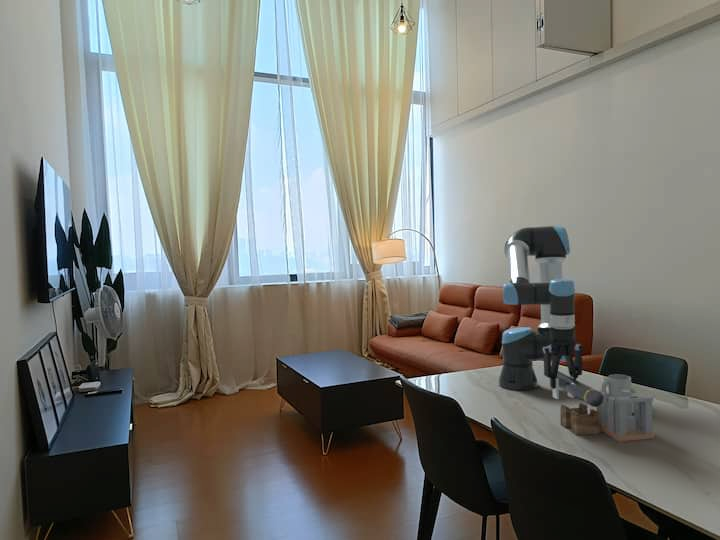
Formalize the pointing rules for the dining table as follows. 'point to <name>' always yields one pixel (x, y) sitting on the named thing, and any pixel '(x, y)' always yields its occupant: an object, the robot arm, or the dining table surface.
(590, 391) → the tube
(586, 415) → the rack
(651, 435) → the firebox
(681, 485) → the dining table surface
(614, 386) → the cup
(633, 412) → the ornament
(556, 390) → the robot arm
